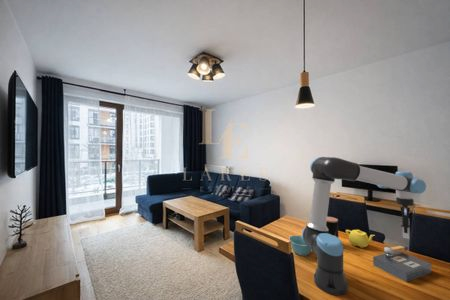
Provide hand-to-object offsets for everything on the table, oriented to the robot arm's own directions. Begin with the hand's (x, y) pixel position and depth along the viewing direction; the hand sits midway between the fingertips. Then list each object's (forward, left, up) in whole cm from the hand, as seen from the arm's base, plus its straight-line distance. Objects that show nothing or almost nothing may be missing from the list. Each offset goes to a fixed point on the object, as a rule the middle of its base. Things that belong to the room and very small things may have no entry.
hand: (405, 237), depth 114 cm
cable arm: (-1, +5, -10) cm, 11 cm away
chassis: (-7, -1, -16) cm, 18 cm away
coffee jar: (-18, +37, -16) cm, 44 cm away
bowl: (-47, +34, -16) cm, 60 cm away
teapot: (-1, +27, -16) cm, 32 cm away
